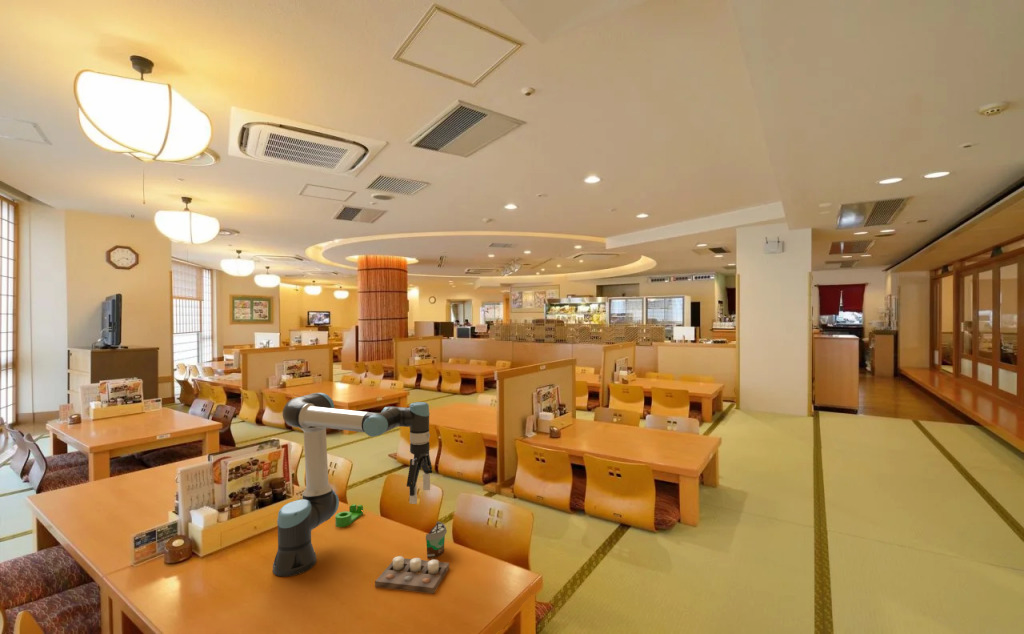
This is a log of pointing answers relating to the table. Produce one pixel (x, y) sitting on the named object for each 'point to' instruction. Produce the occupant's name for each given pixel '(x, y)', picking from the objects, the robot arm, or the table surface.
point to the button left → (398, 563)
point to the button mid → (415, 565)
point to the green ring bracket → (348, 516)
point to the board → (412, 578)
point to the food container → (436, 540)
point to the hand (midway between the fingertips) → (420, 496)
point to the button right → (433, 567)
